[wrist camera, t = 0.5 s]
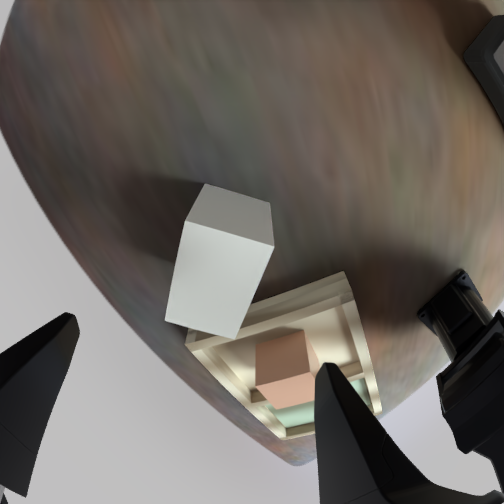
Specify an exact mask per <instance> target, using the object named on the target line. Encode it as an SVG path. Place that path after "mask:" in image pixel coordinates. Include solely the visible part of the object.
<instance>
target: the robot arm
mask: <svg viewBox="0 0 504 504" xmlns="http://www.w3.org/2000/svg"><path fill="white" fill-rule="evenodd" d="M482 301H483V300H482V298H481V296H480V294H479V292H478V291H477V289H476V287H475V285H474V284H473V282H472V280H471V279H470V277H469V275H468V274H467V273H466V272H465V271H462V272H460V273H459V274H458V275H457V276H456V277H455V278H454V279H453V280H452V281H451V282H450V283H449V284H448V285H447V286H446V287H445V288H444V289H443V290H442V291H441V292H440V293H439V294H437V295H436V296H435V297H434V298H433V299H432V300H431V301H430V302H429V303H428V304H426V305H425V306H424V307H423V308H422V309H421V310H420V311H419V312H418V313H417V316H418V318H419V319H420V320H421V321H422V322H423V323H424V324H425V325H426V326H427V327H428V328H429V329H430V330H431V331H432V332H434V333H435V334H436V335H437V336H438V337H439V339H440V341H441V343H442V345H443V347H444V349H445V351H446V353H447V354H448V356H449V358H450V360H451V362H452V363H451V364H450V365H449V366H448V367H447V368H446V369H445V370H444V371H443V372H441V373H439V374H438V375H437V376H436V379H437V385H438V390H439V396H440V404H441V410H442V415H443V417H444V418H445V419H446V421H447V423H448V424H449V426H450V428H451V430H452V432H453V435H454V438H455V441H456V445H457V448H458V449H459V450H460V451H462V452H463V453H464V454H468V453H469V452H471V451H474V452H476V453H478V454H480V455H482V456H484V457H486V458H488V459H489V460H490V461H491V463H492V465H493V467H494V470H495V473H496V476H497V479H498V481H499V484H500V488H501V490H502V493H501V492H499V491H496V490H493V491H491V492H489V493H487V494H486V495H484V496H475V495H471V494H467V493H463V492H459V491H455V490H452V489H448V488H445V487H442V486H439V485H436V484H434V483H433V482H431V481H430V480H428V479H427V478H426V477H425V476H424V475H423V474H422V473H421V472H420V471H419V470H418V469H417V468H416V466H415V465H414V464H413V463H412V462H411V461H410V460H409V459H408V458H407V457H406V456H405V454H403V452H402V451H401V450H400V449H399V447H398V446H397V445H396V444H395V443H394V441H393V440H392V438H391V437H390V436H389V434H387V432H386V431H385V429H384V428H383V427H382V425H381V424H380V422H379V421H378V420H377V418H376V417H375V416H374V414H373V413H372V412H371V410H370V409H369V408H368V406H367V405H366V404H365V402H364V401H363V399H362V398H361V397H360V395H359V394H358V393H357V391H356V390H355V389H354V387H353V386H352V385H351V383H350V382H349V381H348V379H347V378H346V377H345V375H344V374H343V373H342V371H341V370H340V369H339V367H338V366H337V365H336V364H335V363H332V362H324V363H323V364H322V366H321V368H320V369H319V371H318V373H317V374H316V377H315V396H314V425H315V436H316V449H317V462H318V476H319V495H320V504H502V503H503V502H504V312H503V311H501V310H498V311H497V312H496V314H495V316H494V317H493V316H492V315H491V313H490V312H489V311H488V309H487V308H486V306H485V305H484V304H483V302H482ZM79 334H80V330H79V326H78V323H77V319H76V317H75V315H73V314H70V313H67V312H65V313H63V314H61V315H60V316H58V317H57V318H55V319H53V320H52V321H50V322H48V323H47V324H45V325H44V326H42V327H41V328H39V329H37V330H36V331H34V332H33V333H31V334H29V335H28V336H26V337H25V338H23V339H22V340H20V341H19V342H17V343H16V344H14V345H13V346H11V347H10V348H8V349H7V350H5V351H4V352H2V353H1V354H0V504H8V502H7V500H6V497H5V495H4V493H3V492H4V489H5V487H6V488H8V489H9V490H11V491H13V492H15V493H17V494H19V495H22V496H24V497H26V496H27V492H28V488H29V484H30V480H31V475H32V472H33V468H34V465H35V461H36V458H37V454H38V450H39V447H40V444H41V441H42V437H43V434H44V432H45V429H46V426H47V423H48V420H49V417H50V415H51V412H52V409H53V406H54V404H55V401H56V399H57V396H58V393H59V391H60V389H61V386H62V383H63V381H64V379H65V376H66V374H67V372H68V369H69V366H70V363H71V360H72V356H73V353H74V350H75V347H76V344H77V341H78V338H79Z"/></svg>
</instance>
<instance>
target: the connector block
mask: <svg viewBox="0 0 504 504" xmlns="http://www.w3.org/2000/svg"><path fill="white" fill-rule="evenodd" d="M274 247H275V246H274V236H273V227H272V217H271V208H270V203H269V202H266V201H262V200H259V199H256V198H253V197H249V196H246V195H243V194H240V193H236V192H233V191H230V190H226V189H223V188H219V187H216V186H213V185H209V184H206V183H205V184H204V186H203V188H202V190H201V192H200V193H199V195H198V197H197V199H196V201H195V203H194V205H193V207H192V208H191V210H190V212H189V214H188V216H187V218H186V220H185V223H184V228H183V232H182V236H181V241H180V245H179V250H178V255H177V259H176V264H175V269H174V274H173V279H172V284H171V289H170V294H169V300H168V305H167V311H166V317H165V321H167V322H171V323H174V324H178V325H181V326H185V327H188V328H192V329H196V330H200V331H203V332H207V333H211V334H215V335H219V336H223V337H227V338H231V339H235V338H236V336H237V333H238V331H239V329H240V326H241V324H242V322H243V320H244V317H245V315H246V313H247V310H248V308H249V306H250V303H251V301H252V299H253V296H254V294H255V292H256V289H257V287H258V285H259V282H260V280H261V278H262V275H263V273H264V271H265V268H266V266H267V263H268V261H269V259H270V256H271V254H272V252H273V249H274Z"/></svg>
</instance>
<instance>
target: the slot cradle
mask: <svg viewBox="0 0 504 504" xmlns="http://www.w3.org/2000/svg"><path fill="white" fill-rule="evenodd" d="M302 330H304V331H305V333H306V335H307V337H308V339H309V341H310V343H311V345H312V347H313V349H314V351H315V353H316V355H317V357H318V360H319V365H320V368H321V366H322V364H323V363H324V362H332V363H335V364H336V365H337V366H338V367H339V369H340V370H341V371H342V373H343V374H344V375H345V377H346V378H347V379H348V381H349V382H350V383H351V385H352V386H353V387H354V389H355V390H356V391H357V393H358V394H359V395H360V397H361V398H362V399H363V401H364V402H365V404H366V405H367V406H368V408H369V409H370V410H371V412H372V413H373V414H374V416H376V415H379V414H382V407H381V403H380V398H379V393H378V388H377V384H376V380H375V375H374V371H373V367H372V363H371V358H370V354H369V350H368V347H367V343H366V339H365V335H364V331H363V328H362V324H361V320H360V317H359V313H358V310H357V306H356V303H355V300H354V296H353V293H352V290H351V287H350V285H349V282H348V280H347V278H346V275H345V273H344V271H341V272H339V273H336V274H333V275H331V276H328V277H326V278H323V279H320V280H318V281H315V282H312V283H309V284H307V285H304V286H301V287H299V288H296V289H293V290H290V291H287V292H285V293H282V294H279V295H276V296H273V297H270V298H268V299H265V300H262V301H259V302H256V303H253V304H250V306H249V308H248V310H247V313H246V315H245V317H244V320H243V322H242V324H241V326H240V329H239V331H238V333H237V336H236V338H235V339H231V338H227V337H223V336H219V335H215V334H211V333H207V332H203V331H200V330H196V329H192V328H189V329H188V333H187V337H186V341H185V346H186V347H187V348H188V349H189V350H190V351H191V352H192V353H193V354H194V356H195V357H196V358H197V359H198V360H199V361H200V362H201V363H202V364H203V365H204V366H205V367H206V368H207V369H208V371H209V372H210V373H211V374H212V375H213V376H214V377H215V378H216V379H217V380H218V381H219V382H220V383H221V384H222V385H223V386H224V387H225V388H226V389H227V390H228V391H229V392H230V393H231V394H232V395H233V396H234V397H235V398H236V399H237V400H238V401H239V402H240V403H241V404H242V405H243V406H244V407H246V408H247V409H248V410H249V411H250V412H251V413H252V414H253V415H254V416H255V417H256V418H257V419H258V420H260V421H261V422H262V423H263V424H264V425H265V426H266V427H267V428H268V429H270V430H271V431H272V432H273V433H274V434H275V435H276V436H278V437H279V438H280V439H281V440H287V439H292V438H297V437H301V436H306V435H310V434H314V433H315V425H314V400H313V401H310V402H306V403H302V404H298V405H294V406H290V407H286V408H281V409H277V410H276V409H275V408H274V407H273V406H272V405H271V403H270V402H269V401H268V400H267V399H266V398H265V397H264V396H263V395H262V393H261V392H260V391H259V390H258V389H257V388H256V387H255V354H256V345H257V344H260V343H263V342H267V341H270V340H273V339H277V338H280V337H283V336H286V335H289V334H292V333H296V332H299V331H302Z"/></svg>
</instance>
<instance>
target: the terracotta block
mask: <svg viewBox="0 0 504 504" xmlns="http://www.w3.org/2000/svg"><path fill="white" fill-rule="evenodd" d="M319 369H320V365H319V360H318V357H317V355H316V353H315V351H314V349H313V347H312V345H311V343H310V341H309V339H308V337H307V335H306V333H305V331H304V330H302V331H299V332H296V333H292V334H289V335H286V336H283V337H280V338H277V339H273V340H270V341H267V342H263V343H260V344H257V345H256V354H255V387H256V388H257V389H258V390H259V391H260V392H261V393H262V395H263V396H264V397H265V398H266V399H267V400H268V401H269V402H270V403H271V405H272V406H273V407H274V408H275V409H276V410H277V409H281V408H286V407H290V406H294V405H298V404H302V403H306V402H310V401H313V400H314V396H315V377H316V374H317V373H318V371H319Z"/></svg>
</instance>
